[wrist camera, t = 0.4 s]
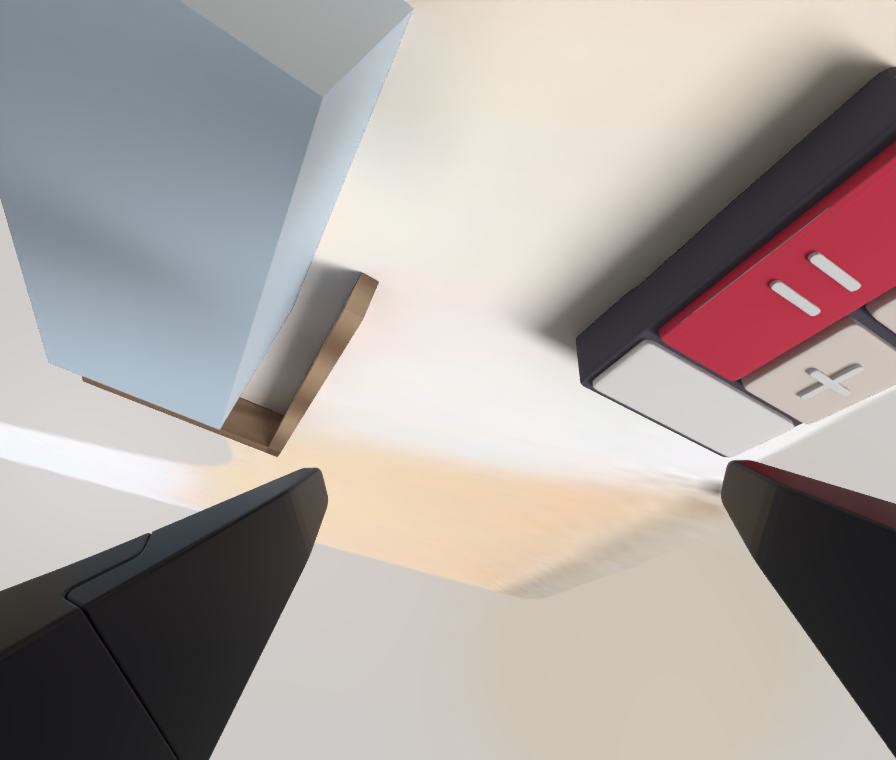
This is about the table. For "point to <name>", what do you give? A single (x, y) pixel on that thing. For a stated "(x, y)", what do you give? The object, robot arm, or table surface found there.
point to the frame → (275, 429)
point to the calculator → (769, 296)
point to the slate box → (179, 175)
